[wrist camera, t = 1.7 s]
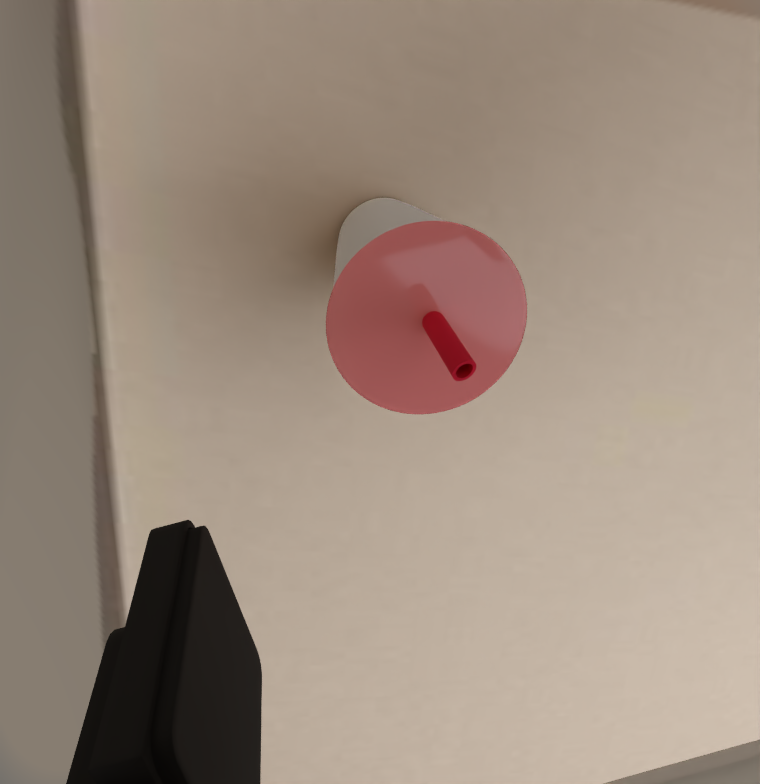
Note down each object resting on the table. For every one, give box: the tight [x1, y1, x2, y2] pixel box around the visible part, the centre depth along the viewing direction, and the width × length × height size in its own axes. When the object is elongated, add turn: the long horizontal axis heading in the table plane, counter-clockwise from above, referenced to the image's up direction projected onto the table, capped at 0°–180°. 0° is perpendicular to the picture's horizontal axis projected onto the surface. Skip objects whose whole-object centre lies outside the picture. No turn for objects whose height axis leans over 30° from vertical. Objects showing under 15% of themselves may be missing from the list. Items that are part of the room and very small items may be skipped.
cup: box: [326, 198, 527, 414], centre depth 21 cm, size 5×5×12 cm
